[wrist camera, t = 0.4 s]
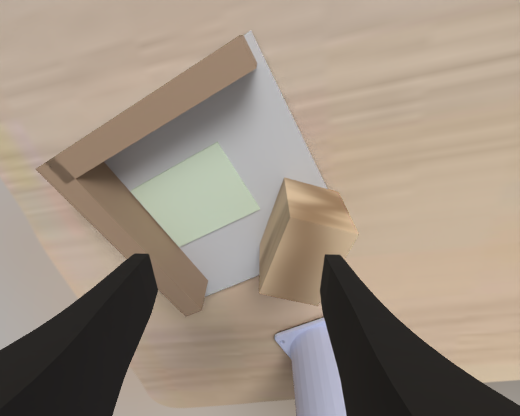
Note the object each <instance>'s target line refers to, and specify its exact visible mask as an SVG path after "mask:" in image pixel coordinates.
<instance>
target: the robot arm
mask: <svg viewBox="0 0 520 416" xmlns="http://www.w3.org/2000/svg"><path fill="white" fill-rule="evenodd" d="M157 292H158V288H157V284H156V280H155V276H154V272H153V268H152V264H151V260H150V256H149V254H139V253H134V254H133V255H132V256H130V257H129V258H128V259H127V260H126V261H124V262H123V263H122V264H121V265H120V266H119V267H117V268H116V269H115V270H114V271H113V272H111V273H110V274H109V275H108V276H107V277H106V278H104V279H103V280H102V281H101V282H100V283H98V284H97V285H96V286H95V287H93V288H92V289H91V290H90V291H88V292H87V293H86V294H84V295H83V296H82V297H81V298H79V299H78V300H77V301H75V302H74V303H73V304H72V305H70V306H69V307H68V308H66V309H65V310H63V311H62V312H61V313H59V314H58V315H56V316H55V317H53V318H52V319H50V320H49V321H47V322H46V323H44V324H43V325H41V326H40V327H38V328H37V329H35V330H33V331H32V332H30V333H29V334H27V335H25V336H23V337H22V338H20V339H18V340H17V341H15V342H13V343H12V344H10V345H9V346H7V347H5V348H3V349H2V350H0V416H112V415H113V411H114V408H115V405H116V402H117V398H118V396H119V392H120V389H121V386H122V383H123V380H124V377H125V375H126V372H127V369H128V367H129V364H130V362H131V360H132V357H133V355H134V353H135V350H136V348H137V346H138V344H139V341H140V339H141V337H142V334H143V332H144V330H145V327H146V325H147V322H148V320H149V318H150V315H151V313H152V309H153V306H154V303H155V299H156V295H157ZM320 297H321V304H322V310H323V316H324V318H321V319H318V320H315V321H312V322H309V323H306V324H303V325H300V326H297V327H294V328H291V329H288V330H285V331H282V332H279V333H277V334H275V341H276V342H277V343H278V344H279V345H280V347H281V348H282V349H283V350H284V351H285V353H286V354H287V355H288V356H289V357H290V359H291V360H292V371H293V382H294V393H295V405H296V416H520V406H519V405H517V404H516V403H514V402H513V401H511V400H509V399H508V398H506V397H505V396H503V395H501V394H499V393H498V392H496V391H495V390H493V389H491V388H490V387H488V386H487V385H485V384H483V383H482V382H480V381H479V380H477V379H476V378H474V377H473V376H471V375H470V374H468V373H467V372H465V371H464V370H462V369H461V368H459V367H458V366H456V365H455V364H454V363H452V362H451V361H449V360H448V359H447V358H445V357H444V356H442V355H441V354H440V353H439V352H437V351H436V350H435V349H433V348H432V347H431V346H429V345H428V344H427V343H425V342H424V341H423V340H422V339H420V338H419V337H418V336H417V335H416V334H414V333H413V332H412V331H411V330H410V329H409V328H407V327H406V326H405V325H404V324H403V323H402V322H401V321H400V320H398V319H397V318H396V317H395V316H394V315H393V314H392V313H391V312H390V311H389V310H388V309H387V308H386V307H385V306H384V305H383V304H382V303H381V302H380V301H379V300H378V299H377V298H376V296H375V295H374V294H373V293H372V292H371V291H370V290H369V289H368V288H367V286H366V285H365V284H364V283H363V282H362V281H361V280H360V278H359V277H358V276H357V275H356V274H355V272H354V271H353V270H352V269H351V267H350V266H349V265H348V264H347V262H346V261H345V260H344V259H343V257H342V256H341V255H334V254H325V257H324V264H323V271H322V278H321V285H320Z"/></svg>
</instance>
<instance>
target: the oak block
mask: <svg viewBox="0 0 520 416" xmlns="http://www.w3.org/2000/svg"><path fill="white" fill-rule="evenodd" d="M358 236H359V233H358V231H357V229H356V227H355V225H354V223H353V221H352V219H351V217H350V215H349V212H348V210H347V208H346V206H345V204H344V202H343V200H342V198H341V196H340V194H339V192H337V191H333V190H329V189H326V188H322V187H318V186H314V185H311V184H307V183H303V182H300V181H296V180H292V179H289V178H285V177H284V179H283V182H282V185H281V187H280V190H279V193H278V196H277V198H276V201H275V204H274V207H273V209H272V212H271V215H270V218H269V220H268V223H267V226H266V229H265V231H264V234H263V237H262V240H261V242H260V256H259V294H263V295H268V296H272V297H277V298H282V299H287V300H291V301H296V302H301V303H306V304H311V305H315V306H318V305H319V303H320V302H321V297H320V285H321V278H322V271H323V264H324V257H325V254H334V255H341V256H342V257H343V259H344V260H345V258H346V256H347V255H348V253H349V251H350V249H351V248H352V246H353V244H354V243H355V241H356V239H357V237H358Z"/></svg>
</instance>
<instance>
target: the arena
mask: <svg viewBox="0 0 520 416" xmlns="http://www.w3.org/2000/svg"><path fill="white" fill-rule="evenodd" d="M36 170H37V171H38V172H39V173H40V174H41V175H42V176H43V177H44V178H45V179H46V180H47V181H48V182H49V183H50V184H51V185H52V186H53V187H54V188H55V189H56V190H57V191H58V192H59V193H60V194H61V195H62V196H63V197H64V198H65V199H66V200H67V201H68V202H69V203H70V204H71V205H72V206H73V207H74V208H75V209H76V210H77V211H79V212H80V213H81V214H82V215H83V216H84V217H85V218H86V219H87V220H88V221H89V222H90V223H91V224H92V225H93V226H94V227H95V228H96V229H97V230H98V231H99V232H100V233H101V234H102V235H103V236H104V237H105V238H106V239H107V240H108V241H109V242H110V243H111V244H112V245H113V246H114V247H115V248H116V249H117V250H118V251H119V252H120V253H121V254H122V255H123V256H124V257H125V258H126V259H128V258H129V257H130V256H132V255H133V254H134V253H139V254H149V256H150V260H151V264H152V268H153V272H154V276H155V280H156V284H157V288H158V290H159V291H160V292H161V293H162V294H163V295H164V296H165V297H166V298H167V299H168V300H169V301H170V302H171V303H172V304H173V305H174V306H175V307H176V308H177V309H178V310H179V311H180V312H181V313H183V314H184V315H185V316H188V315H191V314H194V313H196V312H199V311H201V310H202V307H203V302H204V297H206V296H208V295H211V294H213V293H216V292H218V291H221V290H223V289H226V288H228V287H231V286H233V285H235V284H238V283H240V282H243V281H245V280H248V279H250V278H253V277H255V276H258V275H259V256H260V242H261V240H262V237H263V234H264V231H265V229H266V226H267V223H268V220H269V218H270V215H271V212H272V209H273V207H274V204H275V201H276V198H277V196H278V193H279V190H280V187H281V185H282V182H283V179H284V177H285V178H289V179H292V180H296V181H300V182H303V183H307V184H311V185H314V186H318V187H322V188H326V189H327V186H326V184H325V182H324V180H323V178H322V176H321V174H320V172H319V170H318V168H317V166H316V164H315V162H314V160H313V158H312V155H311V153H310V151H309V149H308V147H307V145H306V143H305V141H304V139H303V137H302V135H301V133H300V131H299V129H298V126H297V124H296V122H295V120H294V118H293V116H292V114H291V112H290V110H289V108H288V106H287V104H286V102H285V100H284V98H283V95H282V93H281V91H280V89H279V87H278V85H277V83H276V81H275V79H274V77H273V75H272V73H271V71H270V69H269V66H268V64H267V62H266V60H265V58H264V56H263V54H262V52H261V50H260V48H259V46H258V44H257V42H256V40H255V38H254V35H253V33H252V31H249V32H248V33H246V34H245V35H239V36H238V37H236V38H235V39H233V40H232V41H230V42H229V43H227V44H226V45H224V46H223V47H221V48H220V49H218V50H217V51H215V52H214V53H212V54H210V55H209V56H207V57H206V58H204V59H203V60H201V61H200V62H198V63H197V64H195V65H194V66H192V67H191V68H189V69H188V70H186V71H185V72H183V73H181V74H180V75H178V76H177V77H175V78H174V79H172V80H171V81H169V82H168V83H166V84H165V85H163V86H162V87H160V88H159V89H157V90H156V91H154V92H152V93H151V94H149V95H148V96H146V97H145V98H143V99H142V100H140V101H139V102H137V103H136V104H134V105H133V106H131V107H130V108H128V109H127V110H125V111H123V112H122V113H120V114H119V115H117V116H116V117H114V118H113V119H111V120H110V121H108V122H107V123H105V124H104V125H102V126H101V127H99V128H97V129H96V130H94V131H93V132H91V133H90V134H88V135H87V136H85V137H84V138H82V139H81V140H79V141H78V142H76V143H75V144H73V145H72V146H70V147H68V148H67V149H65V150H64V151H62V152H61V153H59V154H58V155H56V156H55V157H53V158H52V159H50V160H49V161H47V162H46V163H44V164H43V165H41V166H39V167H38V168H36Z"/></svg>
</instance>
